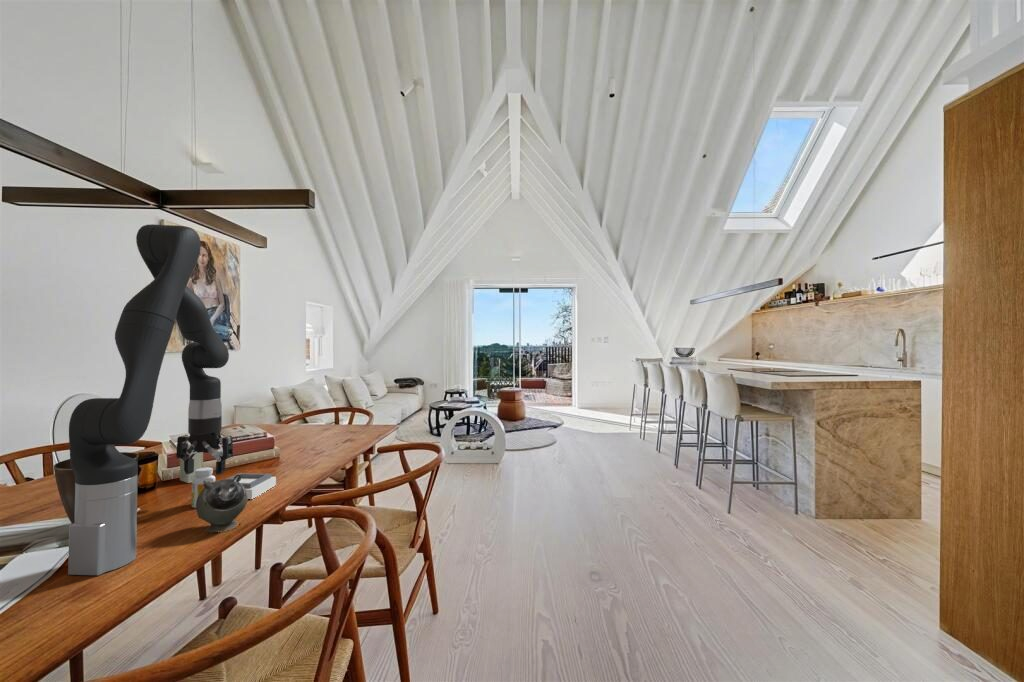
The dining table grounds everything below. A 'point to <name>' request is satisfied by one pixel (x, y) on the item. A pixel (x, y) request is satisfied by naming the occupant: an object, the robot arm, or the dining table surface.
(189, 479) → the skincare box
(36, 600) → the dining table surface
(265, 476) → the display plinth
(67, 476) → the plant pot
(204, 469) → the supplement bottle
